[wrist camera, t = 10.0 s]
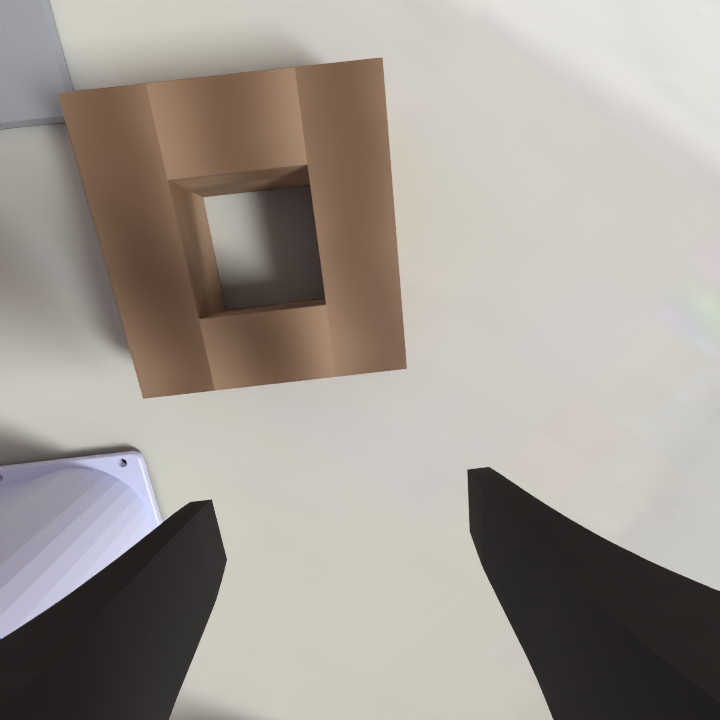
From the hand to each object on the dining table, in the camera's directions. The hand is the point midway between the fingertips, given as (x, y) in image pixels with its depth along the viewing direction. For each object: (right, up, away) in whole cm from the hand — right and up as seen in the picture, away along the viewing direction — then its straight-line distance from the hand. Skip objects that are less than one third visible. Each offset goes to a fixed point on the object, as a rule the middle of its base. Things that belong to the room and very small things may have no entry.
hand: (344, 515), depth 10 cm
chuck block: (-4, +10, +8) cm, 13 cm away
